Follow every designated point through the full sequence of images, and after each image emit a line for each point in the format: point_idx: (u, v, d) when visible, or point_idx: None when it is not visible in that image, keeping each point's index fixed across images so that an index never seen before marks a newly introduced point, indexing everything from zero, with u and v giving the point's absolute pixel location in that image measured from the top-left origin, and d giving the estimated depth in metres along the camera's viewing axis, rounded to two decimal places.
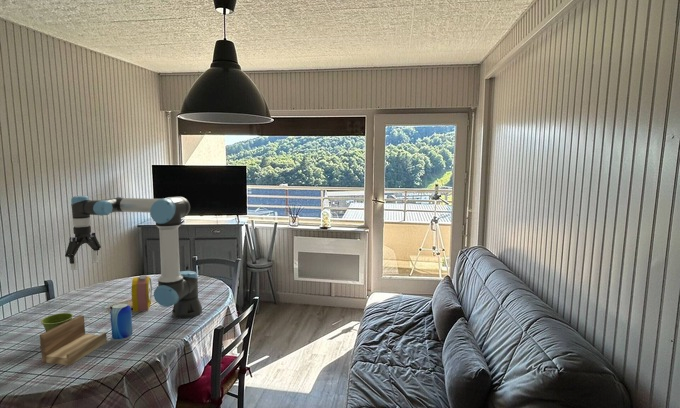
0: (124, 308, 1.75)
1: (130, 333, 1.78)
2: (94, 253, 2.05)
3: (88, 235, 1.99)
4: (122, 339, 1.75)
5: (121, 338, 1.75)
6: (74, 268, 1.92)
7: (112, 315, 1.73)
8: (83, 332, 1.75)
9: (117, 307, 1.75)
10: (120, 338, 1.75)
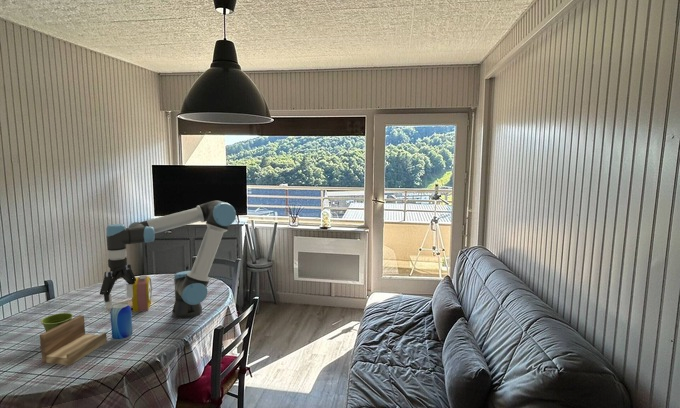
0: (124, 308, 1.75)
1: (130, 333, 1.78)
2: (129, 287, 1.82)
3: (124, 268, 1.77)
4: (122, 339, 1.75)
5: (121, 338, 1.75)
6: (109, 307, 1.69)
7: (112, 315, 1.73)
8: (83, 332, 1.75)
9: (117, 307, 1.75)
10: (120, 338, 1.75)
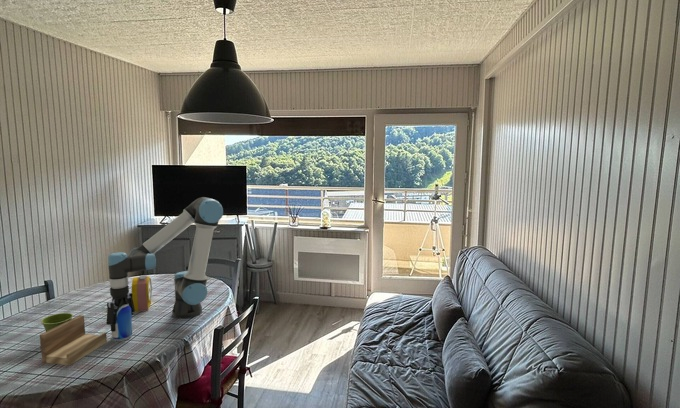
0: (124, 308, 1.75)
1: (130, 333, 1.78)
2: None
3: (126, 295, 1.79)
4: (122, 339, 1.75)
5: (121, 338, 1.75)
6: (115, 336, 1.74)
7: None
8: (83, 332, 1.75)
9: None
10: (120, 338, 1.75)
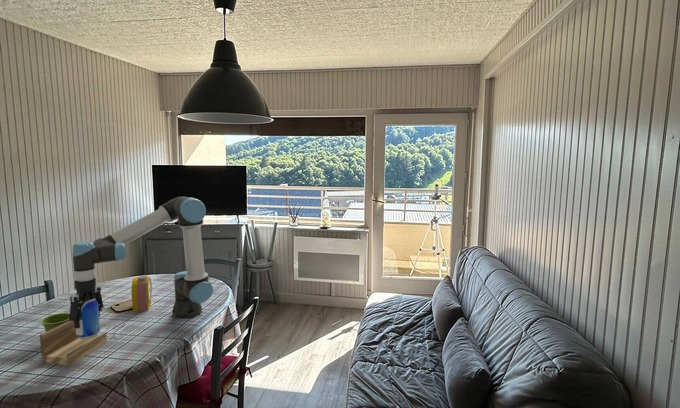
0: (90, 303, 1.60)
1: (96, 330, 1.63)
2: None
3: (92, 289, 1.64)
4: (87, 337, 1.60)
5: (86, 336, 1.60)
6: (80, 333, 1.58)
7: None
8: None
9: None
10: (85, 336, 1.59)
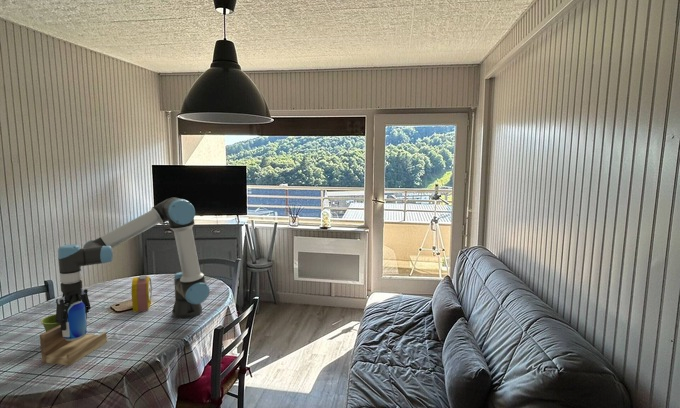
0: (76, 305, 1.61)
1: (83, 332, 1.64)
2: None
3: (79, 291, 1.65)
4: (74, 339, 1.61)
5: (73, 338, 1.61)
6: (66, 335, 1.60)
7: None
8: None
9: None
10: (71, 338, 1.61)
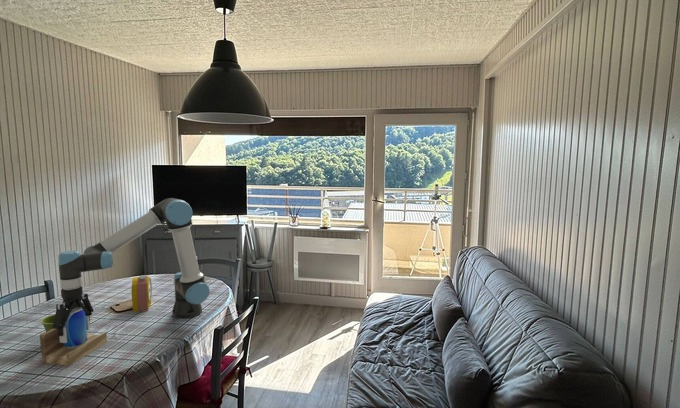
0: (76, 313, 1.62)
1: (84, 340, 1.64)
2: None
3: (79, 297, 1.65)
4: (74, 347, 1.62)
5: (73, 346, 1.61)
6: (64, 341, 1.58)
7: None
8: None
9: None
10: (72, 346, 1.61)
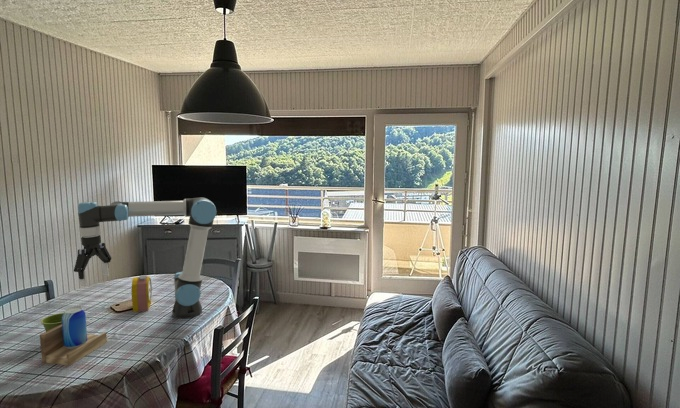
0: (77, 313, 1.62)
1: (84, 340, 1.64)
2: (104, 266, 1.82)
3: (98, 246, 1.77)
4: (74, 347, 1.62)
5: (73, 346, 1.61)
6: (84, 284, 1.69)
7: (63, 321, 1.60)
8: None
9: (69, 312, 1.61)
10: (72, 346, 1.61)
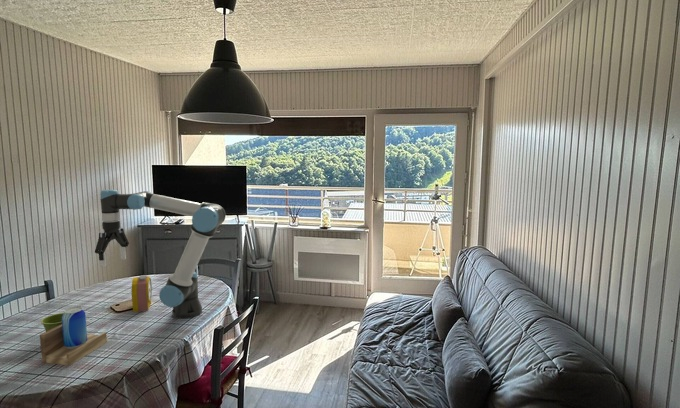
0: (77, 313, 1.62)
1: (84, 340, 1.64)
2: (122, 249, 1.97)
3: (117, 231, 1.91)
4: (74, 347, 1.62)
5: (73, 346, 1.61)
6: (103, 265, 1.84)
7: (63, 321, 1.60)
8: None
9: (69, 312, 1.61)
10: (72, 346, 1.61)
